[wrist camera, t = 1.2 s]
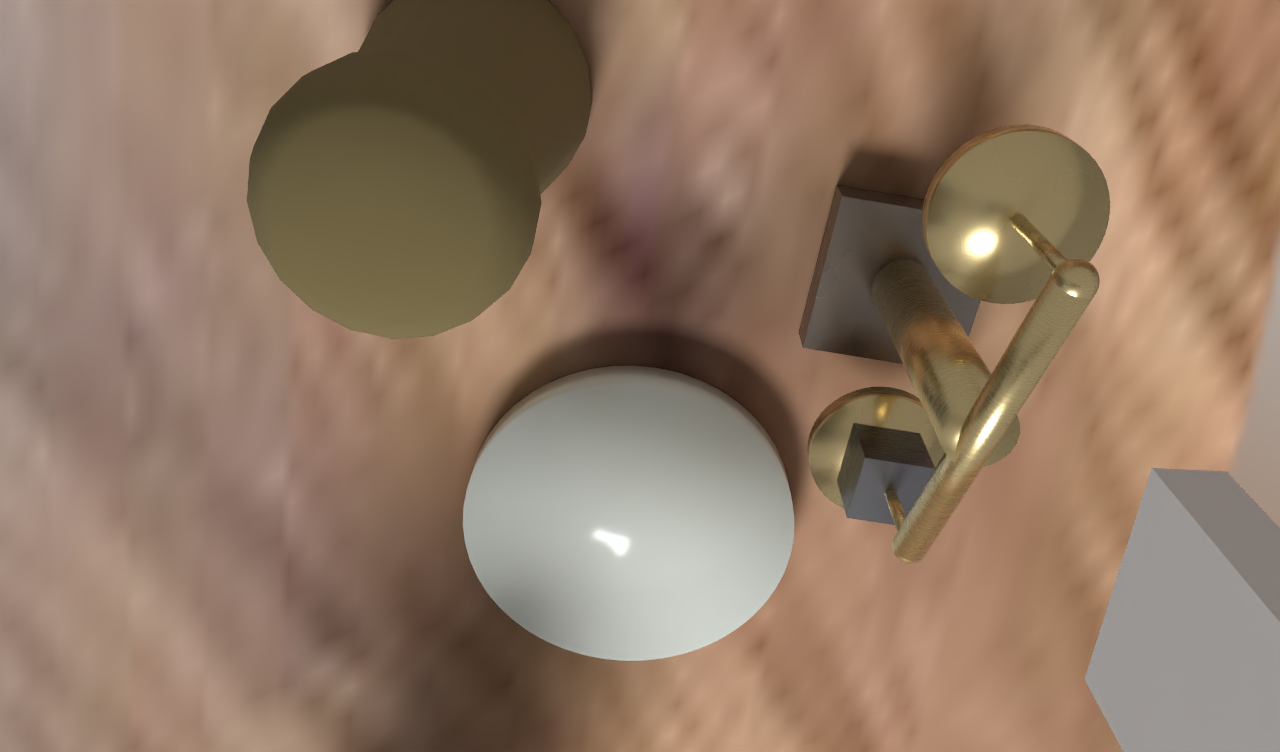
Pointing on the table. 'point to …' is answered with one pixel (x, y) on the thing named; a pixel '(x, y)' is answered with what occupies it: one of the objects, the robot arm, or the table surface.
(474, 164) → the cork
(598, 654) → the dish
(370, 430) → the table surface
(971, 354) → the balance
